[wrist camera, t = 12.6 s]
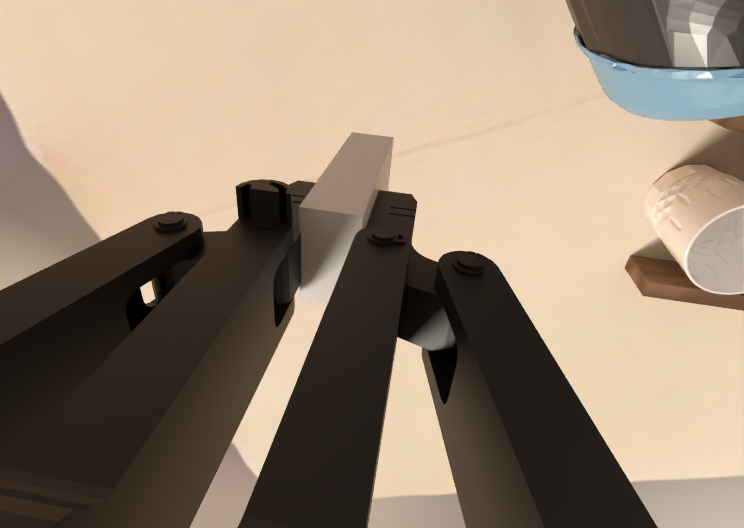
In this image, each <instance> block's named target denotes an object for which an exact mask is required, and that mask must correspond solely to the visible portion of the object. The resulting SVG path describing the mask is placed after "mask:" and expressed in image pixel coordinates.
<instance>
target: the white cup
mask: <svg viewBox="0 0 744 528" xmlns="http://www.w3.org/2000/svg"><path fill="white" fill-rule="evenodd" d="M645 215H646V216H647V218H648V219H649V220H650V222H651V223H652V225H653V226H654V228H655V229H656V232H657V234H658V236H659V237H660V239H661V240H662V242H663V243H664V244H665V246H666V247H667V249H668V251H669V252H670V253H671V254H672V256H673V257H674V258H675V260H676V261H677V262H678V264H679V265H680V266H681V268H682V269H683V271H684V272H685V273H686V275H687V276H688V277H689V279H690V280H691V281H692V282H693V283H694V284H695V285H696V286H698V287H699V288H701V289H703V290H706V291H708V292H712V293H716V294H725V295H732V294H742V293H744V181H742V180H740V179H737V178H736V177H734V176H732V175H727V174H724V173H723V172H721V171H719V170H716V169H714V168H712V167H710V166H707V165H705V164H697V165H684V166H682V167H679V168H677V169H674V170H672V171H669V172H667V173H666V174H665V175H663V176H662V177H661V178H660V179H659V180H658V181H657V182H655V183H654V184H653V185H652V187H651V189H650V191H649V193H648V195H647V197H646V199H645Z"/></svg>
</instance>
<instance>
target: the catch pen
mask: <svg viewBox="0 0 744 528" xmlns="http://www.w3.org/2000/svg"><path fill="white" fill-rule="evenodd" d="M709 121H711V122H714V123H716V124H718V125H720V126H722V127H724V128H726V129H730V130H739V131H744V115H742V116H736V117H729V118H722V119H711V120H709ZM625 269H626V271H627V272H628V274H629V275H630V277H631V278H632V280H633V281H634V283H635V284H636V286H637V287H638V289H639V290H640V292H641V294H642V295H643V296H648V297H654V298H661V299H668V300H675V301H682V302H689V303H695V304H702V305H709V306H716V307H723V308H730V309H736V310H743V311H744V293H742V294H732V295H725V294H716V293H712V292H708V291H706V290H703V289H701V288H699V287H698V286H696V285H695V284H694V283H693V282H692V281H691V280H690V279H689V277H688V276H687V275H686V273H685V272H684V271H683V269H682V268H681V266H680V265H679V264H678V262H673V261H666V260H659V259H652V258H645V257H637V256H630V258H629V260H628V262H627V264H626V266H625Z"/></svg>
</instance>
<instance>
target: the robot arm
mask: <svg viewBox="0 0 744 528" xmlns="http://www.w3.org/2000/svg"><path fill="white" fill-rule="evenodd" d="M566 3H567V6H568V8H569V11H570V13H571V16H572V18H573V21H574V23H575V28H574V36H575V40H576V43H577V45H578V47H579V48H580V49H581V51H583V53H584V54H585V55H586V56H587V57H588V58H589V60H590V63H591V65H592V67H593V69H594V71H595V74H596V76H597V78H598V80H599V83H600V85H601V87H602V89H603V91H604V93H605V94H606V95H607V97H608V98H609V99H610V100H612V101H613V102H615V103H616V104H617V105H618V106H619V107H621V108H623V109H625V110H626V111H628V112H630V113H632V114H635V115H638V116H642V117H647V118H651V119H658V120H669V121H697V120H711V119H722V118H729V117H736V116H742V115H744V0H566ZM393 138H394V137H385V136H377V135H369V134H361V133H353V132H352V133H351V135H350V136H349V137H348V139H347V140H346V142H345V143H344V144H343V146H342V147H341V149H340V150H339V151H338V153H337V154H336V156H335V157H334V158H333V160H332V161H331V163H330V164H329V165H328V167H327V168H326V170H325V171H324V172H323V174H322V175H321V177H320V178H319V179H318V181H317V182H316V183H313V182H305V181H296V182H294V183H292V184H289V185H287V184H285V183H283V182H280V181H275V180H263V179H262V180H251V181H247V182H243V183H241V184H239V185H237V186H236V195H237V206H238V217H239V219H238V220H237V221H236V222H235V223H234V224H233V225H232V226H231V227H230V228H229V229H228V230H227V231H216V232H203V226H202V221H201V220H200V218H199V217H197V216H195V215H193V214H188V213H183V212H176V213H175V212H167V213H165V214H159V215H156V216H153V217H151V218H148V219H146V220H144V221H142V222H140V223H138V224H136V225H134V226H132V227H130V228H128V229H126V230H123V231H121V232H119V233H117V234H115V235H113V236H111V237H109V238H107V239H105V240H103V241H101V242H99V243H97V244H95V245H93V246H91V247H89V248H87V249H85V250H82V251H80V252H78V253H76V254H74V255H72V256H70V257H68V258H66V259H64V260H62V261H60V262H58V263H56V264H54V265H52V266H50V267H48V268H45V269H44V270H41V271H39V272H37V273H35V274H33V275H31V276H29V277H27V278H25V279H23V280H21V281H19V282H17V283H15V284H13V285H11V286H9V287H7V288H5V289H2V290H1V291H0V528H189V527H190V525H191V523H192V521H193V519H194V517H195V515H196V513H197V511H198V509H199V507H200V505H201V503H202V501H203V499H204V497H205V494H206V492H207V490H208V488H209V486H210V484H211V482H212V480H213V478H214V476H215V474H216V472H217V470H218V468H219V466H220V463H221V462H222V460H223V457H224V455H225V453H226V451H227V449H228V447H229V445H230V443H231V441H232V439H233V437H234V435H235V433H236V431H237V429H238V427H239V425H240V422H241V420H242V418H243V416H244V414H245V412H246V410H247V408H248V406H249V404H250V402H251V400H252V398H253V396H254V394H255V392H256V390H257V387H258V385H259V383H260V381H261V379H262V377H263V375H264V373H265V371H266V369H267V367H268V365H269V363H270V361H271V359H272V357H273V355H274V352H275V350H276V348H277V346H278V344H279V342H280V340H281V338H282V336H283V334H284V332H285V330H286V328H287V326H288V324H289V322H290V320H291V317H292V315H293V313H294V308H295V303H294V295H295V293H296V291H297V289H298V287H299V285H300V302H306V303H313V304H319V305H326V306H327V307H326V309H325V312H324V314H323V317H322V319H321V322H320V325H319V327H318V330H317V332H316V335H315V337H314V340H313V342H312V345H311V347H310V350H309V352H308V355H307V357H306V360H305V362H304V365H303V367H302V370H301V372H300V375H299V377H298V380H297V382H296V385H295V387H294V390H293V392H292V395H291V397H290V400H289V402H288V405H287V407H286V410H285V412H284V415H283V417H282V420H281V422H280V425H279V427H278V430H277V432H276V435H275V437H274V440H273V442H272V445H271V447H270V450H269V452H268V455H267V457H266V460H265V462H264V465H263V467H262V470H261V472H260V475H259V477H258V480H257V483H256V485H255V487H254V490H253V493H252V495H251V498H250V500H249V503H248V505H247V508H246V510H245V513H244V515H243V517H242V519H241V522H240V524H239V526H238V528H368V522H369V516H370V509H371V503H372V496H373V490H374V483H375V477H376V470H377V464H378V457H379V451H380V445H381V438H382V432H383V425H384V419H385V412H386V406H387V399H388V393H389V387H390V380H391V374H392V367H393V361H394V354H395V349H396V342H397V337H399V338H401V339H404V340H406V341H408V342H411V343H413V344H416V345H418V346H420V347H422V359H423V363H424V366H425V370H426V374H427V378H428V382H429V386H430V390H431V394H432V397H433V401H434V405H435V409H436V413H437V417H438V421H439V425H440V428H441V432H442V436H443V440H444V444H445V448H446V452H447V456H448V459H449V463H450V467H451V471H452V475H453V479H454V483H455V487H456V490H457V494H458V498H459V502H460V506H461V510H462V514H463V518H464V521H465V525H466V528H657V526H656V524H655V522H654V521H653V519H652V518H651V516H650V515H649V513H648V511H647V509H646V508H645V506H644V504H643V503H642V501H641V500H640V498H639V496H638V495H637V493H636V491H635V490H634V488H633V486H632V485H631V483H630V482H629V480H628V478H627V477H626V475H625V473H624V472H623V470H622V468H621V467H620V465H619V464H618V462H617V460H616V459H615V457H614V455H613V454H612V452H611V451H610V449H609V447H608V446H607V444H606V442H605V441H604V439H603V437H602V436H601V434H600V433H599V431H598V429H597V428H596V426H595V424H594V423H593V421H592V419H591V418H590V416H589V415H588V413H587V411H586V410H585V408H584V406H583V405H582V403H581V401H580V400H579V398H578V397H577V395H576V393H575V392H574V390H573V388H572V387H571V385H570V384H569V382H568V380H567V379H566V377H565V375H564V374H563V372H562V370H561V369H560V367H559V366H558V364H557V362H556V361H555V359H554V357H553V356H552V354H551V352H550V351H549V349H548V348H547V346H546V344H545V343H544V341H543V339H542V338H541V336H540V334H539V333H538V331H537V330H536V328H535V326H534V325H533V323H532V321H531V320H530V318H529V317H528V315H527V313H526V312H525V310H524V308H523V307H522V305H521V303H520V302H519V300H518V299H517V297H516V295H515V294H514V292H513V290H512V289H511V287H510V285H509V284H508V282H507V281H506V279H505V277H504V276H503V274H502V272H501V271H500V269H499V268H498V266H497V265H496V264H495V263H494V262H493V261H492V260H490V259H488V258H486V257H485V256H483V255H481V254H478V253H477V254H476V253H475V252H471V251H468V252H466V251H454V252H449V253H446V254H444V255H442V257H441V258H440V259H439V262H436V261H433V260H431V259H428V258H426V257H424V256H422V255H421V254H419V253H418V252H417V251H416V250H415V249H414V248H413V246H412V235H413V228H414V221H415V214H416V208H417V201H416V200H415V198H414V197H413V196H412V194H405V193H397V192H390V191H388V185H389V176H390V166H391V157H392V147H393ZM149 281H152V286H153V290H154V295H155V299H154V300H153V301H151V302H150V303H147V304H145V303H144V301H143V298H142V294H141V290H140V287H141V286H143V285H144V284H146V283H147V282H149Z"/></svg>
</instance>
